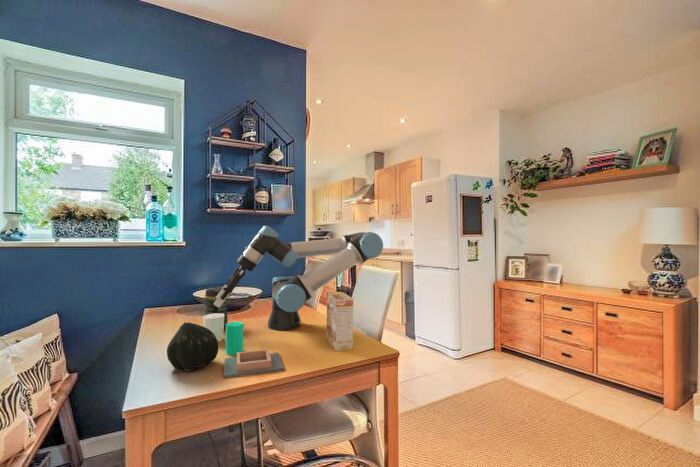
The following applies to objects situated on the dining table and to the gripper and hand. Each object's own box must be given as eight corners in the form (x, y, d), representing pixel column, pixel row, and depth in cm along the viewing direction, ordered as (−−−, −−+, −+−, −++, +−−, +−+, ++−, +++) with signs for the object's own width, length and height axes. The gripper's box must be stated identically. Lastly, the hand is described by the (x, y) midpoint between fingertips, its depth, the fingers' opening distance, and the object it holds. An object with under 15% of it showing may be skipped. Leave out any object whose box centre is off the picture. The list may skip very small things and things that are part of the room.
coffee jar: (213, 332, 143) (214, 289, 143) (201, 329, 147) (201, 288, 147) (231, 326, 152) (231, 286, 152) (219, 324, 156) (219, 285, 156)
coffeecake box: (325, 339, 136) (326, 292, 136) (342, 337, 138) (342, 291, 138) (335, 351, 122) (335, 299, 122) (353, 349, 124) (354, 298, 124)
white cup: (216, 344, 128) (216, 318, 128) (198, 342, 130) (199, 317, 129) (228, 338, 136) (228, 313, 136) (211, 336, 137) (211, 312, 137)
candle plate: (278, 354, 118) (278, 346, 118) (283, 370, 105) (283, 361, 105) (224, 360, 112) (225, 351, 112) (223, 378, 99) (223, 368, 99)
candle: (224, 355, 116) (225, 322, 116) (226, 350, 122) (226, 317, 122) (242, 354, 118) (243, 320, 118) (243, 348, 124) (243, 316, 124)
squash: (229, 351, 106) (214, 311, 112) (180, 366, 95) (166, 321, 101) (214, 370, 113) (201, 332, 120) (168, 387, 102) (155, 343, 109)
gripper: (241, 252, 147) (211, 292, 143) (242, 255, 124) (206, 303, 120) (255, 261, 149) (226, 301, 145) (259, 267, 126) (224, 314, 122)
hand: (217, 302), depth 132 cm, fingers open, 13 cm apart
